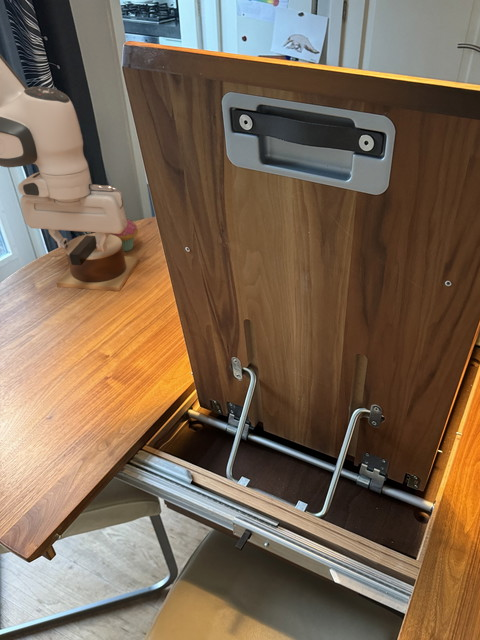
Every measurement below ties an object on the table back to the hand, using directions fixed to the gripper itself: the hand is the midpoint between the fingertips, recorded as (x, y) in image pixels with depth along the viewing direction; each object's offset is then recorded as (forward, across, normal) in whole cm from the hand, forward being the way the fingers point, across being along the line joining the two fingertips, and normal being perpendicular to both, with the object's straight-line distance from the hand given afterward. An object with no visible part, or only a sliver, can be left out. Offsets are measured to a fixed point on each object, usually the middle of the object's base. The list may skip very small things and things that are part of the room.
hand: (83, 249), depth 108 cm
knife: (+1, 0, -5) cm, 5 cm away
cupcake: (+9, -1, -18) cm, 20 cm away
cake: (+8, 0, -5) cm, 10 cm away
